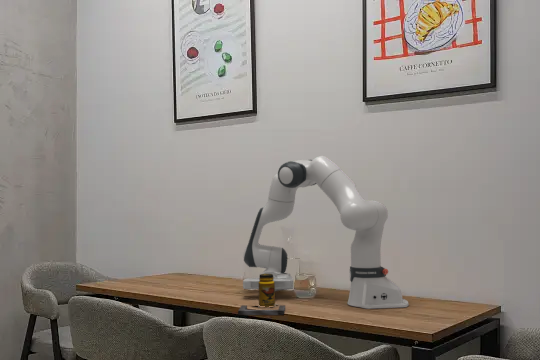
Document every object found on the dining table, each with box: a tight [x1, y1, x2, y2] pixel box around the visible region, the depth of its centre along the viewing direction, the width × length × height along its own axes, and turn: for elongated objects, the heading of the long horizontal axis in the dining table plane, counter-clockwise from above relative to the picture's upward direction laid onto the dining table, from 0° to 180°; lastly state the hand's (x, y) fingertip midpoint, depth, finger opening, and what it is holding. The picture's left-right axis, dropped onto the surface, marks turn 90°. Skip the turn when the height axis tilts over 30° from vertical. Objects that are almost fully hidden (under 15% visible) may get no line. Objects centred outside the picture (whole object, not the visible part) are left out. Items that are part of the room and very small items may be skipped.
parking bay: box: [237, 304, 286, 316], centre depth 222 cm, size 16×10×2 cm, turn 85°
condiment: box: [258, 273, 276, 307], centre depth 234 cm, size 7×8×12 cm
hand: (266, 286), depth 242 cm, fingers closed
